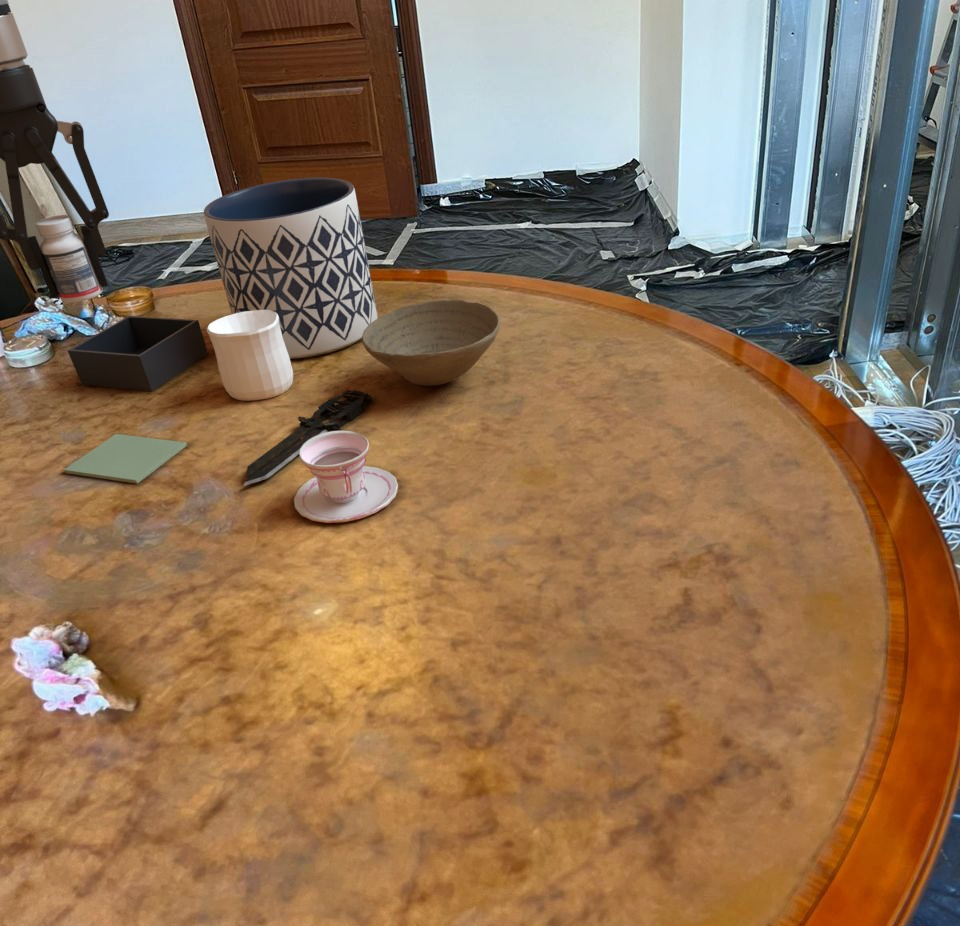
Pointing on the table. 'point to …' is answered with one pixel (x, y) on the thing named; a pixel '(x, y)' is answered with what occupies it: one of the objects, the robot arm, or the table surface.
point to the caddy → (139, 352)
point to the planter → (296, 260)
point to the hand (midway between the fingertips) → (79, 288)
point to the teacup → (342, 479)
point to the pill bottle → (68, 260)
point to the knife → (306, 427)
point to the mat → (126, 458)
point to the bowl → (432, 339)
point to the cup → (251, 355)
